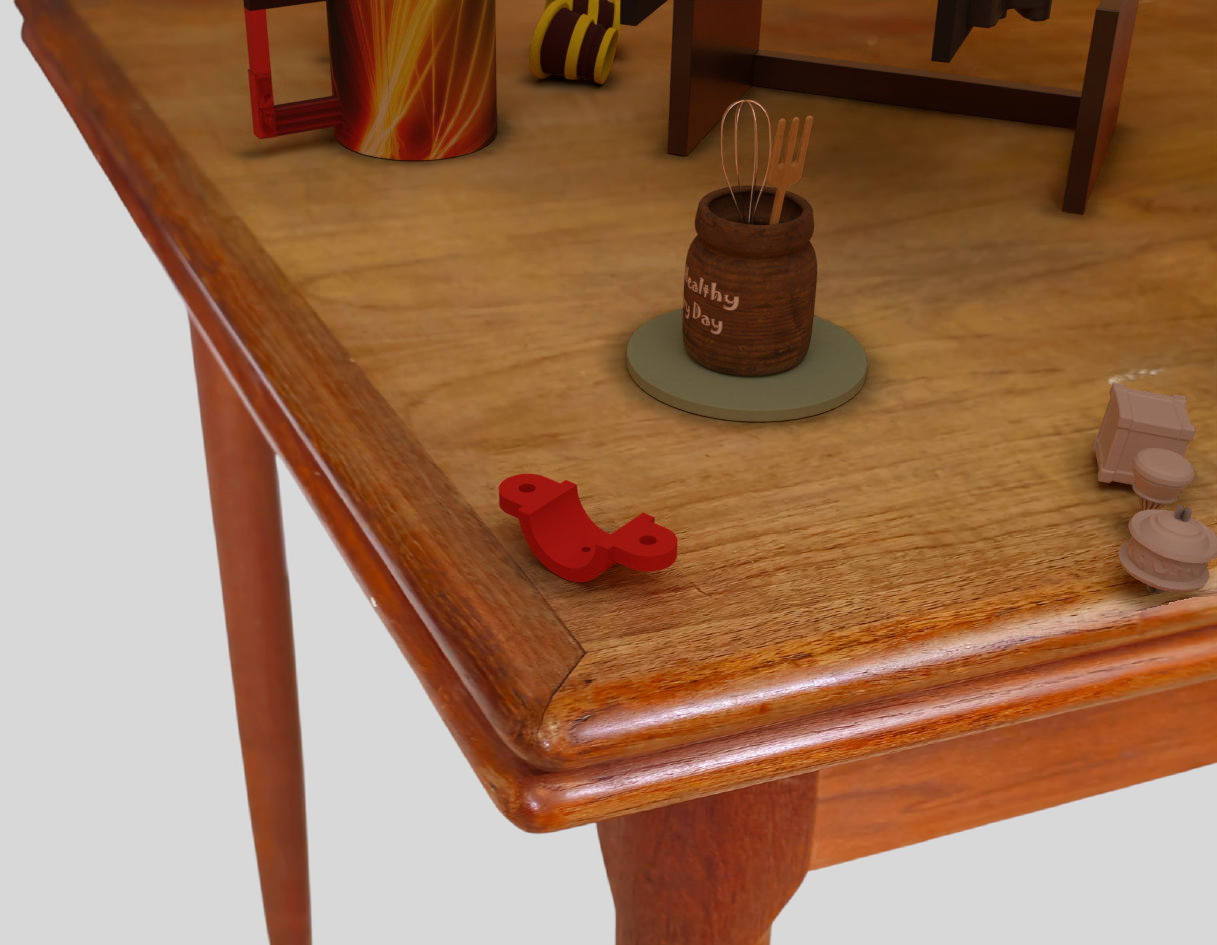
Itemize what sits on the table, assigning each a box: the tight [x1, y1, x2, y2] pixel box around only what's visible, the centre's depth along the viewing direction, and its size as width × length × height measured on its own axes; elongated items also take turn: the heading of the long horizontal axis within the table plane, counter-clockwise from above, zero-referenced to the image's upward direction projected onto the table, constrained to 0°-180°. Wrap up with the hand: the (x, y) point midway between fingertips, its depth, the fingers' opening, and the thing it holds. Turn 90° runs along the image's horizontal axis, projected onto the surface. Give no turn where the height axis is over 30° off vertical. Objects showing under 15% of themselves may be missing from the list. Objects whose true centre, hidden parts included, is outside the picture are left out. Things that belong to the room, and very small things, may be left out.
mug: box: [243, 0, 498, 161], centre depth 103 cm, size 10×14×12 cm
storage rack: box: [666, 0, 1140, 215], centre depth 105 cm, size 15×24×11 cm, turn 70°
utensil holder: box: [682, 99, 818, 376], centre depth 79 cm, size 6×6×12 cm
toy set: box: [1091, 382, 1217, 595], centre depth 71 cm, size 12×3×4 cm, turn 173°
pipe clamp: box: [498, 473, 678, 583], centre depth 68 cm, size 8×3×2 cm, turn 51°
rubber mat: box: [625, 307, 868, 423], centre depth 83 cm, size 11×11×1 cm
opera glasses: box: [528, 0, 622, 85], centre depth 117 cm, size 10×5×5 cm, turn 176°
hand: (782, 11), depth 76 cm, fingers open, 13 cm apart
